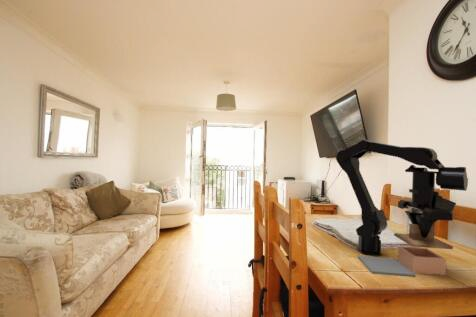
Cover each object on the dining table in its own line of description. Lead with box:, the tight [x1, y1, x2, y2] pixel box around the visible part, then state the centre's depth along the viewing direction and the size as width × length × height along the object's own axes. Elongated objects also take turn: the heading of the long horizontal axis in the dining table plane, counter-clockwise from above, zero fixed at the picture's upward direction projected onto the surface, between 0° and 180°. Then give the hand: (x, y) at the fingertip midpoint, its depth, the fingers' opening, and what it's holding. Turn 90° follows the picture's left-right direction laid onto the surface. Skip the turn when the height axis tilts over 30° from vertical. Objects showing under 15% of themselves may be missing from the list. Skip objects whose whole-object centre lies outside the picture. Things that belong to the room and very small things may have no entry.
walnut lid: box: [393, 224, 454, 250], centre depth 80 cm, size 11×11×5 cm
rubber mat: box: [357, 255, 416, 278], centre depth 80 cm, size 12×12×1 cm
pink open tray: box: [397, 246, 447, 276], centre depth 80 cm, size 9×9×5 cm
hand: (421, 236), depth 80 cm, fingers closed on walnut lid, 2 cm apart
